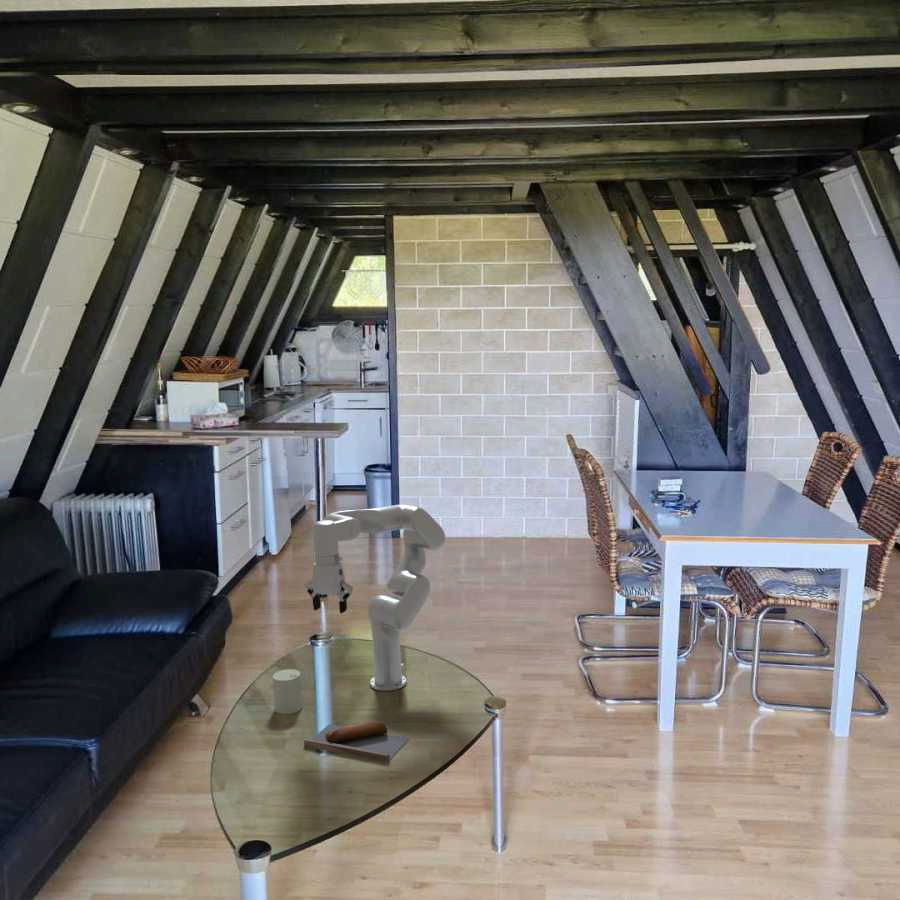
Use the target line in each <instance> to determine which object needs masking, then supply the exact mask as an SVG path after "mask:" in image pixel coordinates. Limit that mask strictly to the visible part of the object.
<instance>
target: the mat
mask: <svg viewBox="0 0 900 900" xmlns="http://www.w3.org/2000/svg"><path fill="white" fill-rule="evenodd" d="M341 727H343V726H341V725H337V724H336V725H334V724H331V723H330V724H328V725H326V726H325V727H324V728H323V729H322V730H320V732H318V733H317V734H316V735H315V736H313V737H312V739H313V740H318V741H324V742H327V740H326V737H325V735H326V734H327V733H329V732H330V731H333V730H336V729H339V728H341ZM409 740H410V738H408V737H405V736H404V737H403V736H398V735H393V734H388V733H387V734H386V733H385V734H379V735H374V736H369V737H364V738H359V739H354V740H349V741H345V742H343V743H339V744H340V745H345V746H350V747H356V748H361V749H366V750H372V751H377V752H382V753H388V754H389V756H390V760H392V758H393V757H394V756H395V755H397V753H398V752H399V751H400V750H401V748H403V746H404V745H405V744H407V742H408V741H409Z"/></svg>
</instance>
